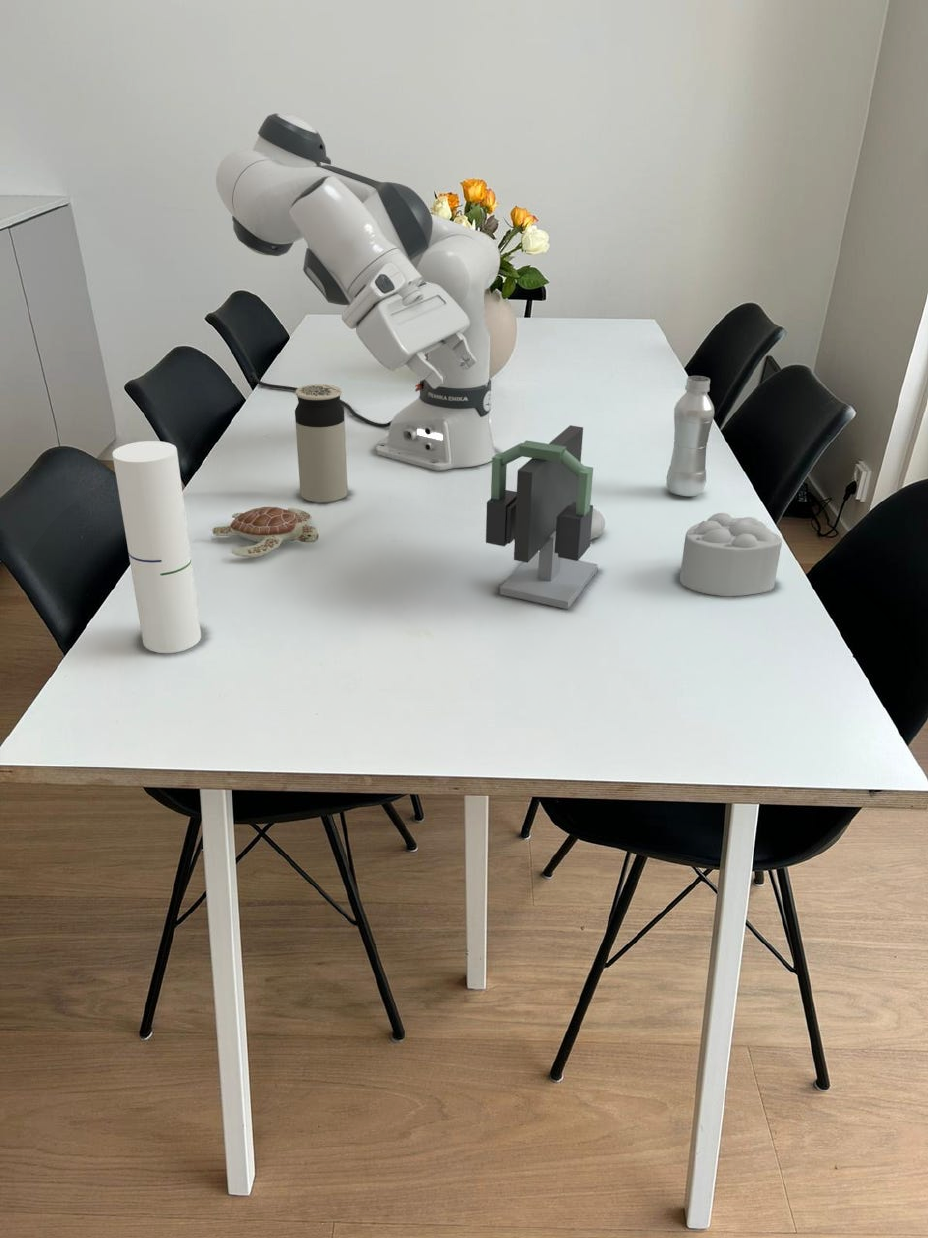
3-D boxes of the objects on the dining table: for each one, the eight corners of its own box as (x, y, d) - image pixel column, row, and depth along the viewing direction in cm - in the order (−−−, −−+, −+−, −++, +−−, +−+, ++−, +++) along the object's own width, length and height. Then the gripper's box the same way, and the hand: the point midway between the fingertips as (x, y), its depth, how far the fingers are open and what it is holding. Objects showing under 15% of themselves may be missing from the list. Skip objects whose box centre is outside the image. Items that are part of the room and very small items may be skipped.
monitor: (489, 605, 138) (493, 466, 128) (541, 549, 154) (548, 421, 144) (558, 620, 134) (568, 479, 125) (604, 561, 150) (616, 432, 141)
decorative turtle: (289, 572, 146) (287, 540, 143) (190, 553, 151) (186, 522, 148) (345, 525, 161) (344, 495, 158) (253, 509, 166) (251, 480, 163)
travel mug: (310, 507, 167) (303, 400, 158) (294, 490, 173) (286, 386, 164) (355, 499, 170) (350, 393, 161) (337, 483, 176) (332, 381, 168)
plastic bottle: (704, 502, 171) (720, 385, 161) (663, 498, 172) (677, 382, 163) (704, 488, 177) (719, 374, 167) (664, 485, 178) (678, 372, 168)
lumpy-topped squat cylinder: (782, 590, 143) (792, 534, 139) (697, 600, 140) (705, 543, 136) (747, 559, 152) (755, 506, 147) (666, 568, 149) (673, 513, 145)
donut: (596, 550, 154) (610, 524, 162) (598, 530, 152) (612, 504, 161) (533, 540, 157) (549, 515, 165) (534, 520, 155) (551, 496, 163)
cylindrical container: (148, 625, 132) (119, 441, 120) (204, 624, 132) (181, 440, 120) (138, 654, 125) (106, 462, 113) (196, 652, 126) (171, 461, 114)
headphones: (485, 542, 138) (488, 444, 131) (500, 528, 142) (503, 432, 135) (577, 561, 133) (585, 460, 127) (589, 546, 138) (598, 447, 131)
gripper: (409, 291, 140) (473, 370, 142) (333, 321, 124) (406, 410, 125) (439, 260, 137) (503, 342, 138) (364, 287, 120) (438, 379, 122)
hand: (456, 375), depth 131 cm, fingers open, 8 cm apart
